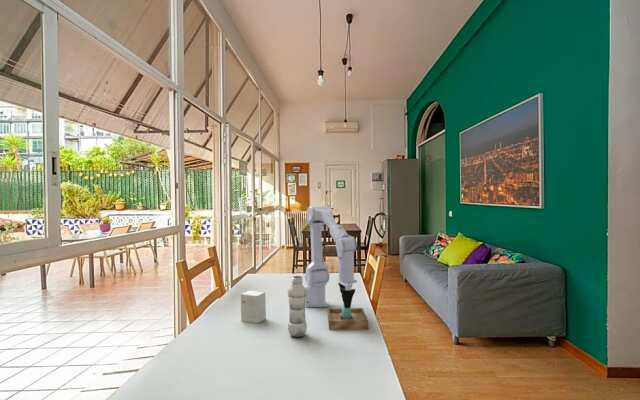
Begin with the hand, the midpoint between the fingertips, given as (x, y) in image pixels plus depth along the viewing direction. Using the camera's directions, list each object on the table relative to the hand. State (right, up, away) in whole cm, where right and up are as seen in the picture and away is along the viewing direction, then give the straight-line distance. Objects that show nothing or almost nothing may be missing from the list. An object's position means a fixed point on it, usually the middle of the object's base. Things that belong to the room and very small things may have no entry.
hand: (346, 304), depth 131 cm
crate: (0, -7, 0) cm, 7 cm away
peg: (0, -7, 0) cm, 7 cm away
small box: (-36, -7, +3) cm, 37 cm away
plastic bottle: (-18, -7, -12) cm, 23 cm away
